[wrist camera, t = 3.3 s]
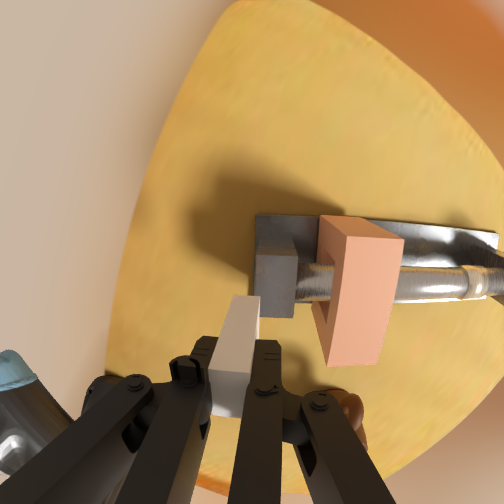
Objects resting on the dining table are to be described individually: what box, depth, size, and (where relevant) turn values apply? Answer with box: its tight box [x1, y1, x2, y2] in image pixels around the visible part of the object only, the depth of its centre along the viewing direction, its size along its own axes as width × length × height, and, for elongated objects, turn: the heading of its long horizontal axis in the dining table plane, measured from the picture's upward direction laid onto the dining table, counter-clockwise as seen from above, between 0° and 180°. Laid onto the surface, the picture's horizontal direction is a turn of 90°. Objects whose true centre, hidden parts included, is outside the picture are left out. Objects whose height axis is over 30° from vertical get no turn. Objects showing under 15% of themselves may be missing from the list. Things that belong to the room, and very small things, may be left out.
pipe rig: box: [254, 214, 504, 318], centre depth 23 cm, size 32×9×8 cm, turn 89°
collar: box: [311, 215, 404, 367], centre depth 21 cm, size 4×10×10 cm, turn 179°
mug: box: [323, 390, 368, 452], centre depth 27 cm, size 12×8×9 cm, turn 175°
